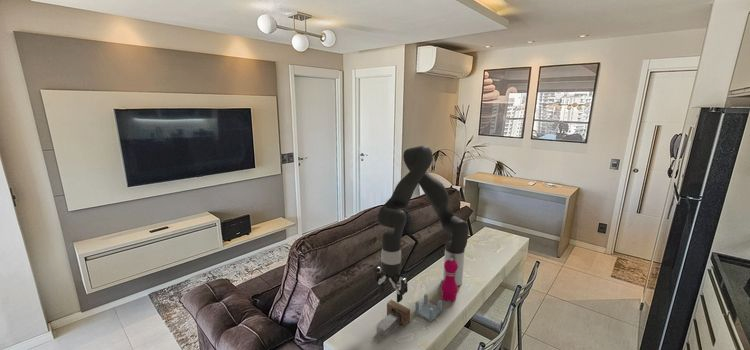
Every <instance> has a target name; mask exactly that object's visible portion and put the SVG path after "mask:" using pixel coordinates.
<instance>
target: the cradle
mask: <svg viewBox="0 0 750 350" xmlns="http://www.w3.org/2000/svg"><path fill="white" fill-rule="evenodd" d="M442 303H443V301H442V300H441V299H438V300H437V305H435V304H433V303H431V302H429V294H428V293H424V294H423V303H422V304H420V301H418V300H416V301H415V305H414V307H415V308H414V309H415V310H414V311H413V312H414V314H415V315H418V316H419V317H421V318H422V319H423V318H424V319H425V320H427V321H429V322H432V321H433V320H434V319H435V318H436V317H437V316H438V315H439V314H440V313H441V312H442V310H443V308H442Z"/></svg>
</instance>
